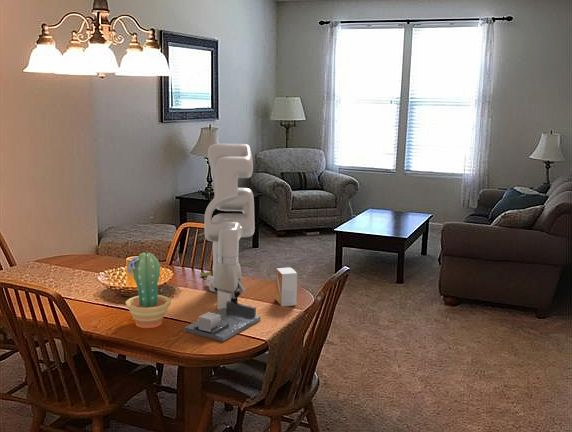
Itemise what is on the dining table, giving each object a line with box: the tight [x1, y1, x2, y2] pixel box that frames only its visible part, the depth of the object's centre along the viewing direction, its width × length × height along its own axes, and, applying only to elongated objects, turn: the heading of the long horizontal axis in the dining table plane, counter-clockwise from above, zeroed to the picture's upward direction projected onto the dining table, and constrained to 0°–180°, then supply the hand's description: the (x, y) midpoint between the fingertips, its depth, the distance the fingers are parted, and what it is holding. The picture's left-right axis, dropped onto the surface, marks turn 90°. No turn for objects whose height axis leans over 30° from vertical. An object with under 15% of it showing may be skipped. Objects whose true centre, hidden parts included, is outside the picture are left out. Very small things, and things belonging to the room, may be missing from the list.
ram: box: [198, 311, 221, 332], centre depth 211 cm, size 5×8×4 cm, turn 151°
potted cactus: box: [125, 252, 172, 329], centre depth 216 cm, size 15×15×25 cm
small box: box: [275, 267, 298, 307], centre depth 243 cm, size 8×6×13 cm
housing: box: [217, 290, 239, 310], centre depth 235 cm, size 5×6×8 cm
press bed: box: [184, 301, 261, 342], centre depth 218 cm, size 16×23×4 cm
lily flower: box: [199, 267, 213, 280], centre depth 275 cm, size 12×12×5 cm
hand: (227, 305), depth 235 cm, fingers closed on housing, 5 cm apart
